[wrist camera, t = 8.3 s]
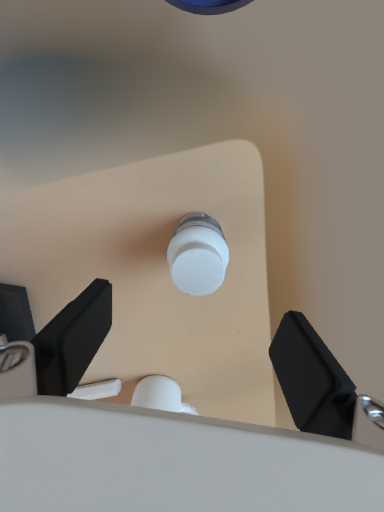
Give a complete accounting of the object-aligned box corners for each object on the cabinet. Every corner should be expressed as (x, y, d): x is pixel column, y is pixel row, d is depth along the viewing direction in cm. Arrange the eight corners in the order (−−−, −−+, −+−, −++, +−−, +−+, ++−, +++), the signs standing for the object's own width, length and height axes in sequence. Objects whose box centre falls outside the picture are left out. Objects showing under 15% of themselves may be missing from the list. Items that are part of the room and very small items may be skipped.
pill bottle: (211, 260, 24) (217, 312, 15) (170, 246, 24) (151, 292, 15) (229, 220, 22) (247, 253, 13) (184, 203, 22) (172, 227, 13)
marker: (48, 390, 38) (120, 376, 35) (50, 401, 38) (122, 388, 35) (35, 398, 35) (111, 384, 32) (36, 411, 35) (114, 398, 32)
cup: (138, 370, 33) (113, 447, 24) (206, 381, 34) (208, 462, 24) (134, 399, 36) (111, 477, 27) (197, 409, 37) (195, 489, 28)
